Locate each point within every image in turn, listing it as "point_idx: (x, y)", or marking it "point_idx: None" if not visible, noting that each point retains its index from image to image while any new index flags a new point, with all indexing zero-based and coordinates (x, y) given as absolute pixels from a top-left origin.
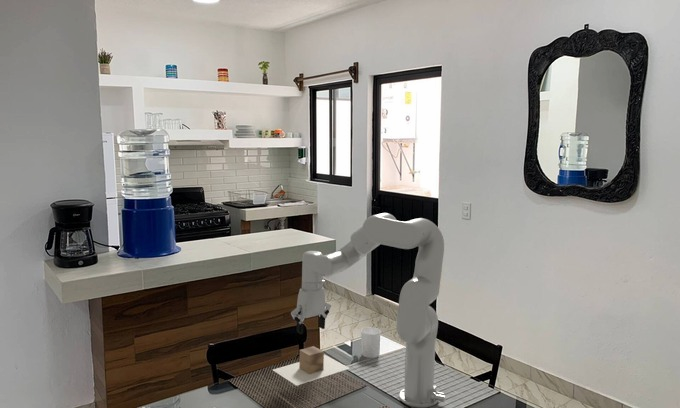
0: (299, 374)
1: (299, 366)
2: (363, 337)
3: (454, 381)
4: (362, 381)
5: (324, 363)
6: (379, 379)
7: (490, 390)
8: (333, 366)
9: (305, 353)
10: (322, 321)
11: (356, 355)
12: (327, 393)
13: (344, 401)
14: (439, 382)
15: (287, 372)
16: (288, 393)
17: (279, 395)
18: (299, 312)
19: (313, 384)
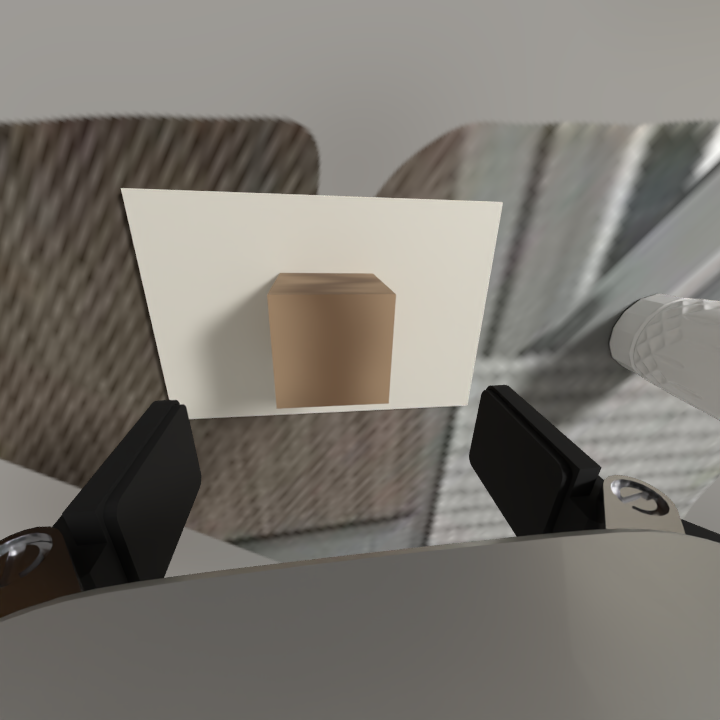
0: (242, 335)
1: (278, 275)
2: (706, 371)
3: None
4: (424, 490)
5: (420, 302)
6: (477, 503)
7: None
8: (429, 353)
9: (273, 366)
10: (515, 516)
11: (604, 301)
12: (264, 502)
13: (281, 557)
14: None
15: (195, 278)
16: (120, 440)
17: (74, 436)
18: (32, 651)
19: (257, 427)
